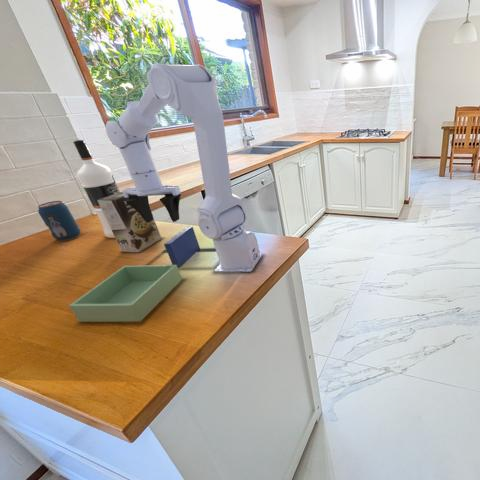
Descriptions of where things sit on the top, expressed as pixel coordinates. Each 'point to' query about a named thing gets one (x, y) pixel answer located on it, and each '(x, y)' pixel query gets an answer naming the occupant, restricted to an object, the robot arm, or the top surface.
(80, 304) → the bin
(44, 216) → the soda can
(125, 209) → the coffee box
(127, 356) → the top surface
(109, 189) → the vodka
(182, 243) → the blue flat block
